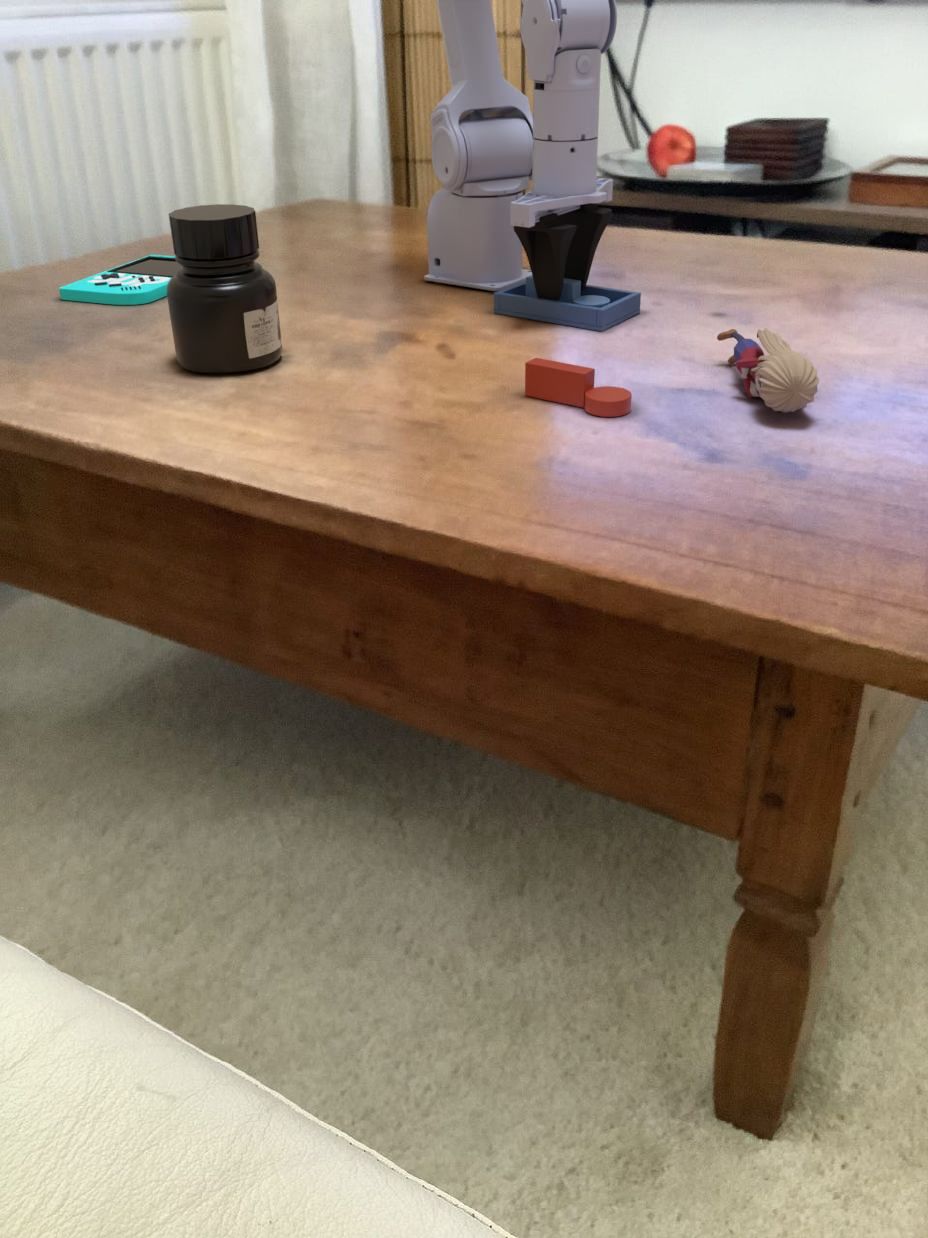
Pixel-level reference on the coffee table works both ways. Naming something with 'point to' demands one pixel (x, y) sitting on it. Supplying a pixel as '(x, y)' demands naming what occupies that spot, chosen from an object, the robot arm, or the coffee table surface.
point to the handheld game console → (125, 283)
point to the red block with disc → (574, 388)
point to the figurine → (773, 371)
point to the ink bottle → (221, 292)
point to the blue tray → (569, 307)
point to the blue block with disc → (570, 293)
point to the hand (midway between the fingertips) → (561, 293)
